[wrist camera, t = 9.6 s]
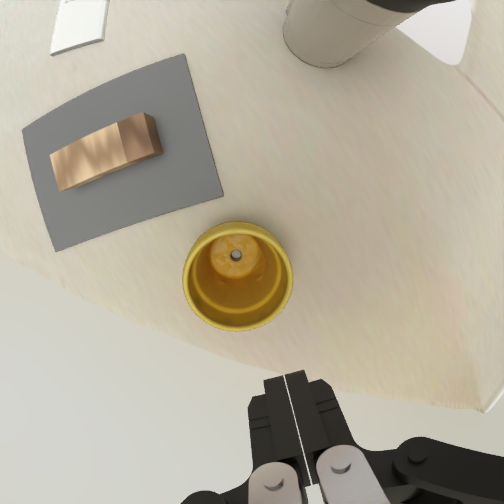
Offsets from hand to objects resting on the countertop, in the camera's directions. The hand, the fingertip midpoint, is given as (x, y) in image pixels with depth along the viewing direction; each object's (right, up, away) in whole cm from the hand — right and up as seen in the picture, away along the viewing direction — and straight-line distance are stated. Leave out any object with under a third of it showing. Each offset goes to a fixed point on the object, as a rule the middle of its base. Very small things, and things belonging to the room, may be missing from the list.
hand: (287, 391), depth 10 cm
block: (-23, +14, +19) cm, 33 cm away
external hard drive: (-24, +38, +15) cm, 47 cm away
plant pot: (-3, +5, +27) cm, 27 cm away
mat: (-18, +17, +22) cm, 33 cm away
